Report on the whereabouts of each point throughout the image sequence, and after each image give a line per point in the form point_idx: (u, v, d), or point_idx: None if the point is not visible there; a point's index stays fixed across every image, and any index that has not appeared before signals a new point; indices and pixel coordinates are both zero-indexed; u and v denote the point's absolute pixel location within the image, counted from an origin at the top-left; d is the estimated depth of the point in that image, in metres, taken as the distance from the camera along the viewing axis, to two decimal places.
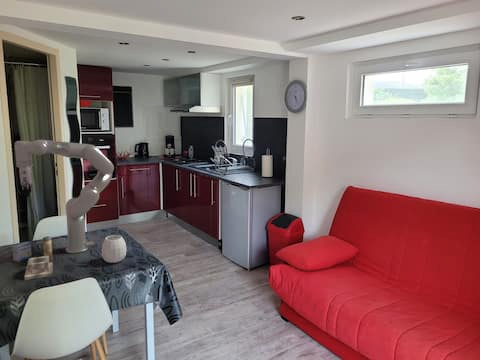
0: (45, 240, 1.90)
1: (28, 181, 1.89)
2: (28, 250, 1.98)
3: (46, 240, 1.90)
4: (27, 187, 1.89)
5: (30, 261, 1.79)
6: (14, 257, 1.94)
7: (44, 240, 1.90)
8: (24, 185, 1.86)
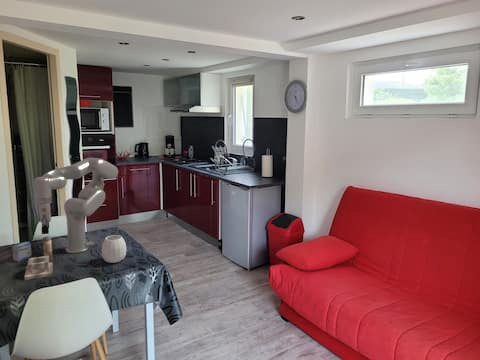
0: (45, 240, 1.90)
1: (47, 218, 1.85)
2: (28, 250, 1.98)
3: (46, 240, 1.90)
4: (46, 224, 1.85)
5: (30, 261, 1.79)
6: (14, 257, 1.94)
7: (44, 240, 1.90)
8: (44, 223, 1.82)
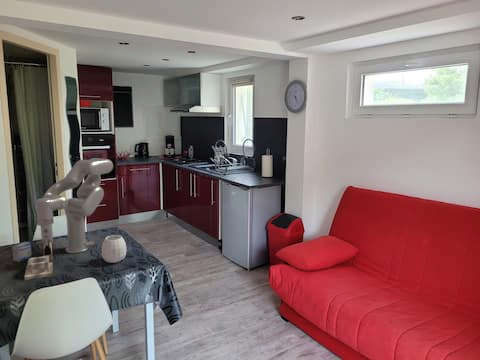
0: None
1: (50, 239, 1.88)
2: (28, 250, 1.98)
3: None
4: (49, 246, 1.90)
5: (30, 261, 1.79)
6: (14, 257, 1.94)
7: None
8: (46, 246, 1.87)
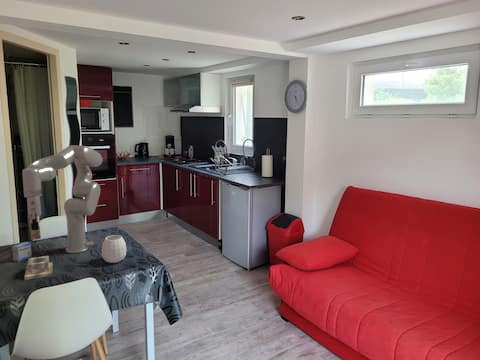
0: None
1: (37, 212, 1.72)
2: (28, 250, 1.98)
3: None
4: (36, 220, 1.74)
5: (30, 261, 1.79)
6: (14, 257, 1.94)
7: None
8: (33, 219, 1.71)
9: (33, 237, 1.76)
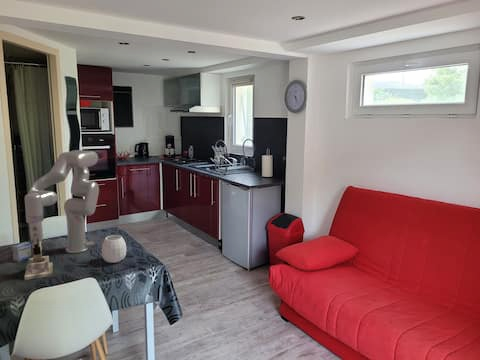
0: None
1: (39, 238, 1.75)
2: (28, 250, 1.98)
3: None
4: (38, 245, 1.76)
5: (30, 261, 1.79)
6: (14, 257, 1.94)
7: None
8: (35, 245, 1.74)
9: (35, 261, 1.79)
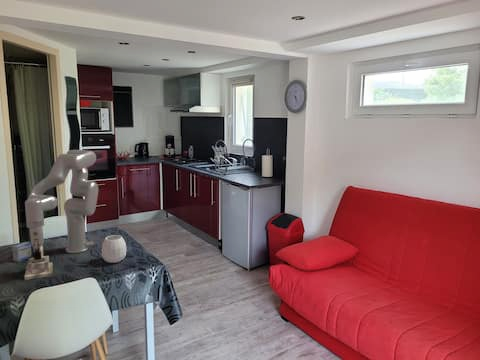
0: None
1: (39, 242, 1.75)
2: (28, 250, 1.98)
3: None
4: (39, 250, 1.76)
5: (30, 261, 1.79)
6: (14, 257, 1.94)
7: None
8: (36, 249, 1.74)
9: None
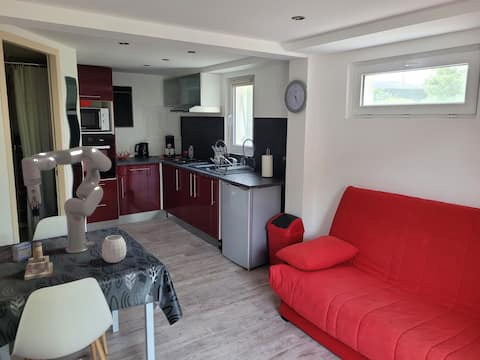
0: (35, 246, 1.77)
1: (38, 200, 1.79)
2: (28, 250, 1.98)
3: (36, 246, 1.78)
4: (37, 206, 1.79)
5: (30, 261, 1.79)
6: (14, 257, 1.94)
7: (34, 246, 1.78)
8: (34, 205, 1.76)
9: None
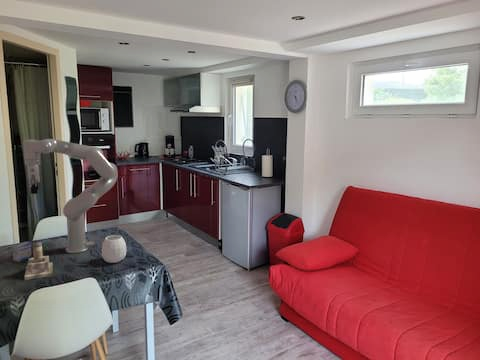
0: (35, 246, 1.78)
1: (36, 179, 1.95)
2: (28, 250, 1.98)
3: (36, 246, 1.78)
4: (35, 184, 1.95)
5: (30, 261, 1.79)
6: (14, 257, 1.94)
7: (34, 246, 1.78)
8: (32, 182, 1.92)
9: None
